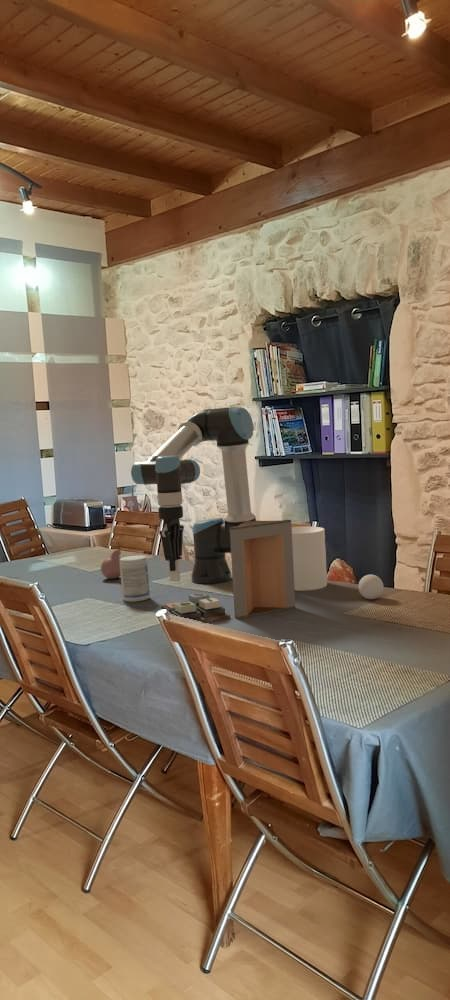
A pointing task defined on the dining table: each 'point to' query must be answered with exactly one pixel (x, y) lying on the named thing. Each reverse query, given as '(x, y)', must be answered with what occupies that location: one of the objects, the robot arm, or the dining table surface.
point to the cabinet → (262, 567)
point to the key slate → (197, 597)
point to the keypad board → (202, 613)
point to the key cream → (209, 603)
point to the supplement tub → (134, 578)
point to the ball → (370, 586)
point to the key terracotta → (171, 605)
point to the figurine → (111, 565)
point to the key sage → (185, 607)
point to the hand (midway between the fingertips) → (175, 580)
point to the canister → (309, 558)
